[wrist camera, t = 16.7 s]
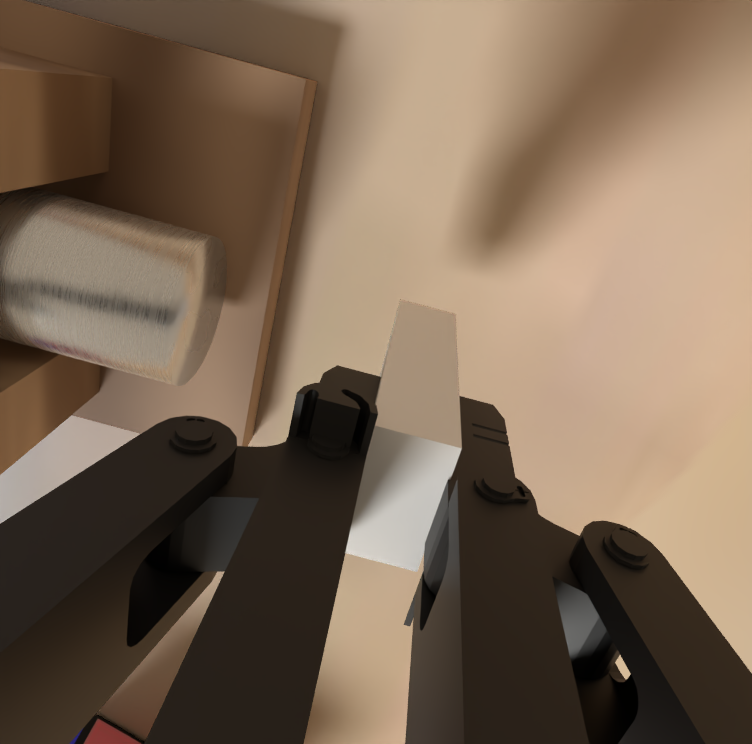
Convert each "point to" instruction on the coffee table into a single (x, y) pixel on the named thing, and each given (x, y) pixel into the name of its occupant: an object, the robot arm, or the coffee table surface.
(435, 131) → the coffee table surface
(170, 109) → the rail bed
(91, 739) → the puzzle cube
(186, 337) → the shaft
